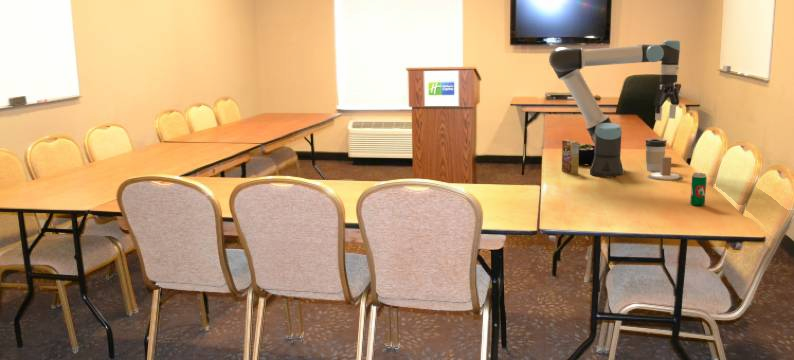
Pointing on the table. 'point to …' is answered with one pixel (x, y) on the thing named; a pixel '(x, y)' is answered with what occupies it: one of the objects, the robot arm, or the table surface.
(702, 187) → the soda can
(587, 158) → the black container
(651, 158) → the coffee cup
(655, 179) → the mat
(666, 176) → the brown block on plate
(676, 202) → the table surface
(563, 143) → the candy box
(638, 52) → the robot arm
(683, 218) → the table surface
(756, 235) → the table surface
